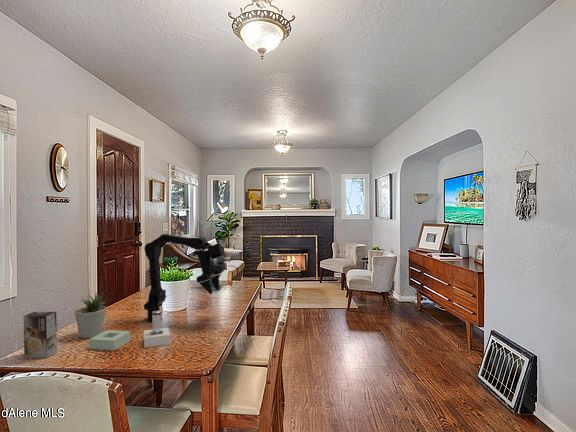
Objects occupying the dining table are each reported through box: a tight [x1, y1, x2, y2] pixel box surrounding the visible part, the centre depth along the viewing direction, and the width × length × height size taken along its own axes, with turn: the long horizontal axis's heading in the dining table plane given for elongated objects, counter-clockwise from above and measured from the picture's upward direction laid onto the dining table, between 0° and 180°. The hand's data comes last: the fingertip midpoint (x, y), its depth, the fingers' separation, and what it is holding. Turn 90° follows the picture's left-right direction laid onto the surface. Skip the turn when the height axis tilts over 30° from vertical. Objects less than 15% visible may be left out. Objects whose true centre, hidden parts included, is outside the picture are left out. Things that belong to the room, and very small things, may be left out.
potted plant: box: [73, 291, 107, 339], centre depth 158 cm, size 13×14×20 cm
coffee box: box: [22, 311, 58, 359], centre depth 137 cm, size 9×6×16 cm
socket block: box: [143, 327, 171, 349], centre depth 150 cm, size 10×10×4 cm
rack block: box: [88, 329, 132, 351], centre depth 148 cm, size 11×11×4 cm
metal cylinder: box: [151, 309, 162, 335], centre depth 150 cm, size 4×4×13 cm
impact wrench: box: [210, 255, 232, 292], centre depth 250 cm, size 8×23×25 cm, turn 89°
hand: (214, 291), depth 176 cm, fingers open, 9 cm apart
